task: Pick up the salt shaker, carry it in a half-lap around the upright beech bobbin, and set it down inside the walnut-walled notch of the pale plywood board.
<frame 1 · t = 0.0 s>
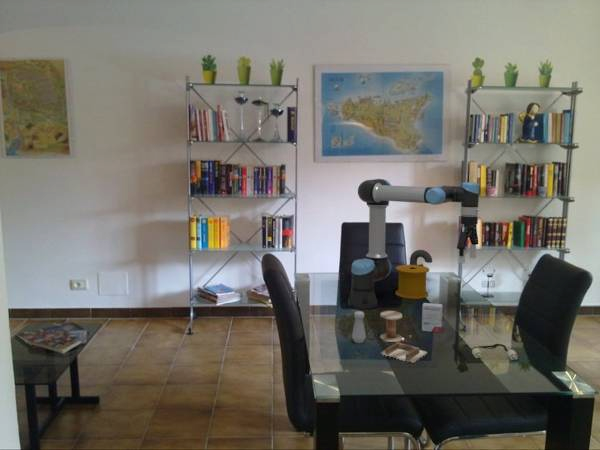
hand: (467, 260, 233), 28 cm above the table, fingers open, 13 cm apart
bobbin: (390, 339, 211), on the table
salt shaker: (358, 342, 208), on the table
ink box: (431, 330, 221), on the table
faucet: (418, 282, 304), on the table
cable: (490, 354, 196), on the table
board: (404, 354, 195), on the table
spool: (411, 294, 277), on the table
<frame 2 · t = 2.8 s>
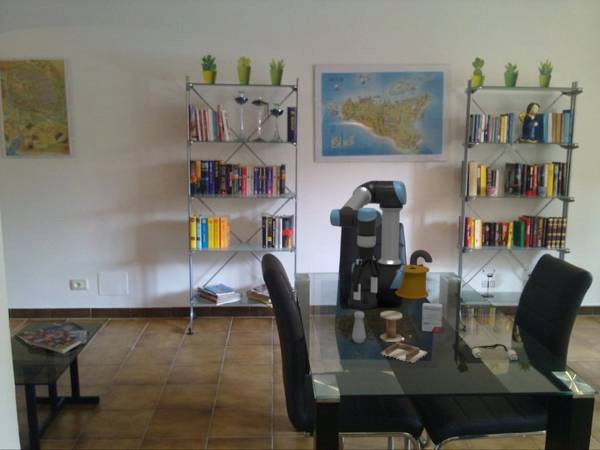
hand: (365, 295, 207), 20 cm above the table, fingers open, 13 cm apart
nothing on the table moved.
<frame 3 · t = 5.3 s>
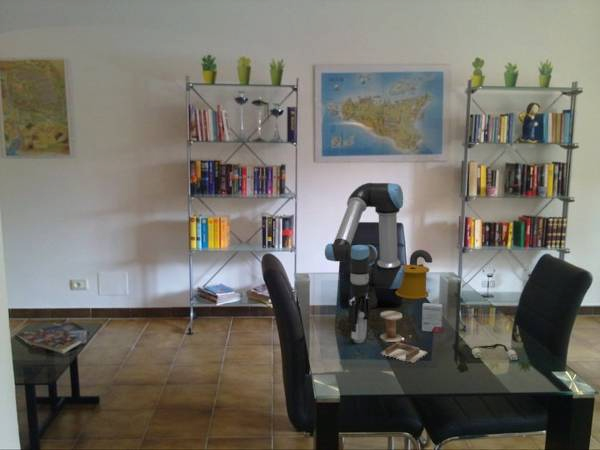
hand: (358, 336, 208), 2 cm above the table, fingers closed on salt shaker, 6 cm apart
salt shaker: (358, 342, 208), on the table, touching gripper
everything else where it was.
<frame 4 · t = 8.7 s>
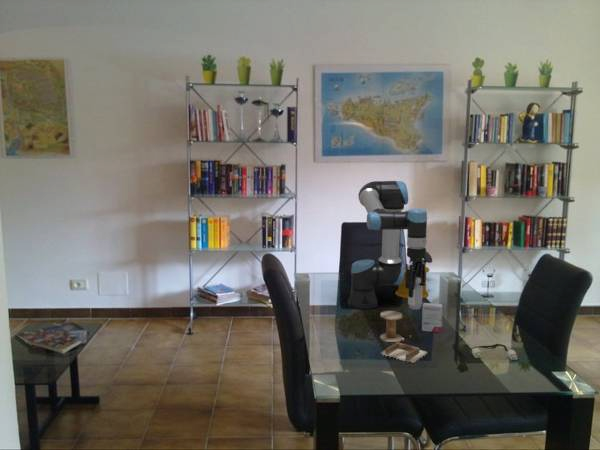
hand: (415, 302, 204), 17 cm above the table, fingers closed on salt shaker, 6 cm apart
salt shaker: (415, 308, 204), point 15 cm above the table, touching gripper
everything else where it was.
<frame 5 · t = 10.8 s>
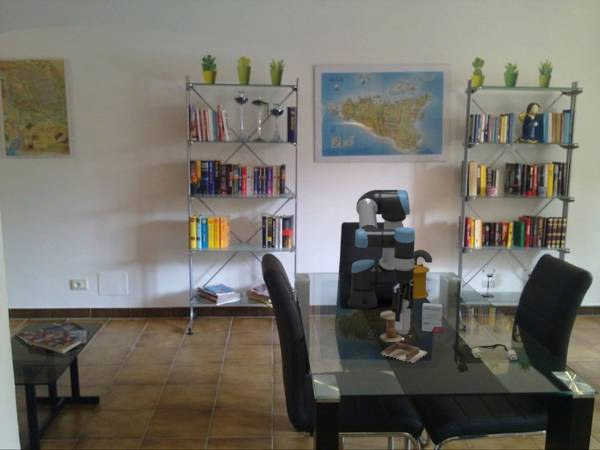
hand: (402, 326, 192), 12 cm above the table, fingers closed on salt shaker, 6 cm apart
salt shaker: (402, 333, 192), point 9 cm above the table, touching gripper
everything else where it was.
when the fingers open (5 cm above the table, at t = 12.4 s): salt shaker drops 1 cm, resting on board.
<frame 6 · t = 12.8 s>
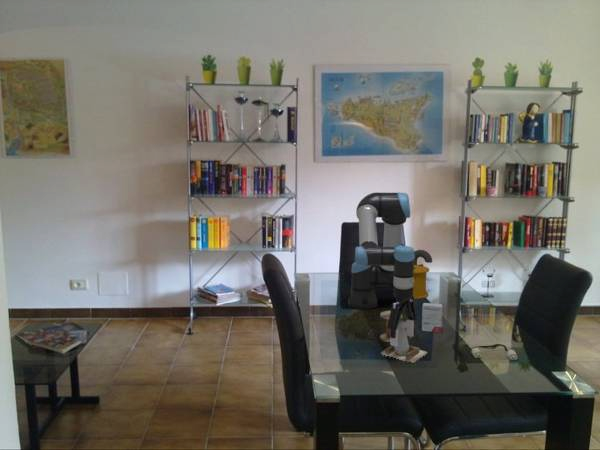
hand: (402, 340, 193), 6 cm above the table, fingers open, 12 cm apart
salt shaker: (401, 354, 193), point 1 cm above the table, touching board
everything else where it was.
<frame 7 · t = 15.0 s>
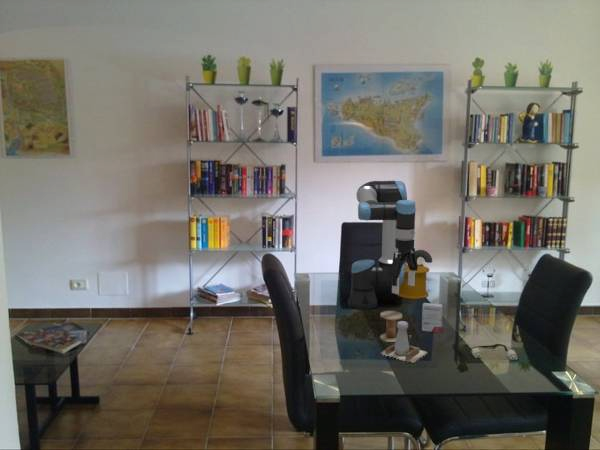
hand: (403, 289, 204), 23 cm above the table, fingers open, 13 cm apart
nothing on the table moved.
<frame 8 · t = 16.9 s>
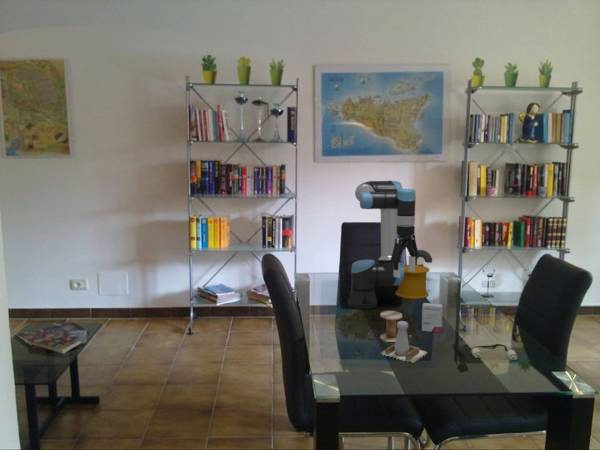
hand: (404, 274, 213), 27 cm above the table, fingers open, 13 cm apart
nothing on the table moved.
at the end: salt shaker inside the target area on the board (0.5 cm from its centre), point 0.6 cm above the board's base; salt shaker tilted 0°; the gripper is holding nothing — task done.
